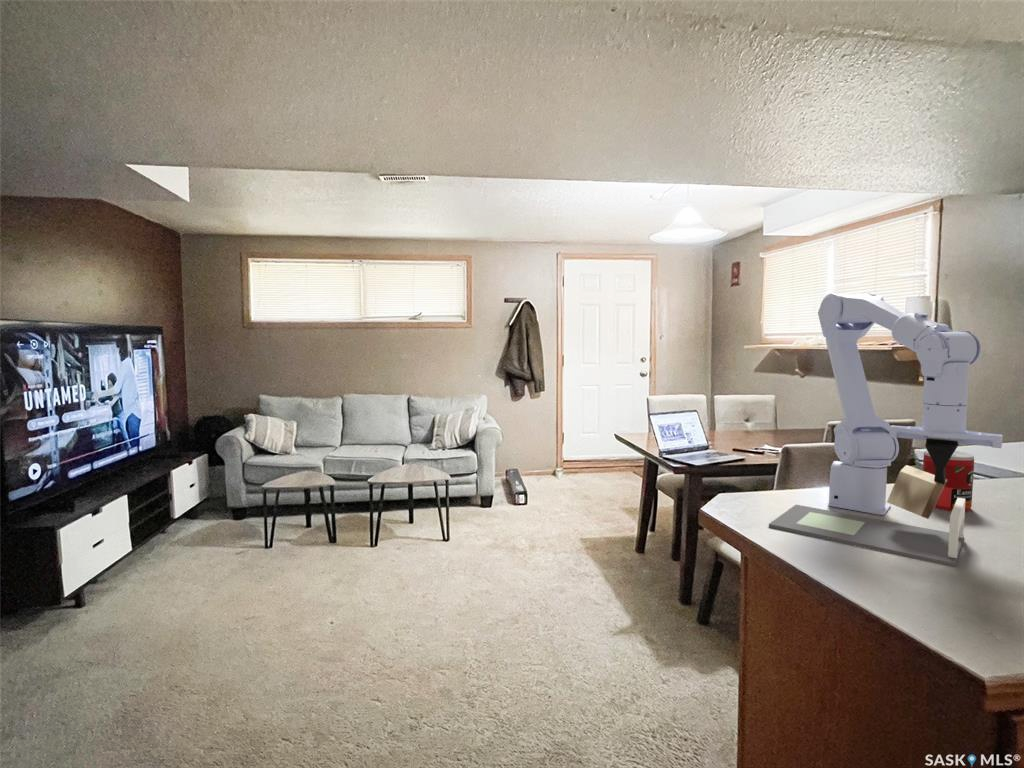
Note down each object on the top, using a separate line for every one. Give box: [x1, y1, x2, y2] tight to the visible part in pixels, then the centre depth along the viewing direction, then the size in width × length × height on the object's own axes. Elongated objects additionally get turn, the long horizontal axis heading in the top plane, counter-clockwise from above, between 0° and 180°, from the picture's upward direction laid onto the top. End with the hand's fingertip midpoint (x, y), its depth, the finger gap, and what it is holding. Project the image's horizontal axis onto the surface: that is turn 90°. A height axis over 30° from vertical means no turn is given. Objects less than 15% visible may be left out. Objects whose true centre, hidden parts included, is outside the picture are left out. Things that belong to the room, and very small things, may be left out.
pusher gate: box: [948, 498, 966, 558], centre depth 84 cm, size 1×13×6 cm, turn 136°
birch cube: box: [886, 464, 947, 520], centre depth 91 cm, size 6×6×6 cm
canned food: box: [922, 449, 975, 512], centre depth 107 cm, size 8×8×11 cm
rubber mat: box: [768, 504, 965, 568], centre depth 93 cm, size 26×16×1 cm, turn 46°
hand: (940, 484), depth 89 cm, fingers closed, pressing on birch cube
